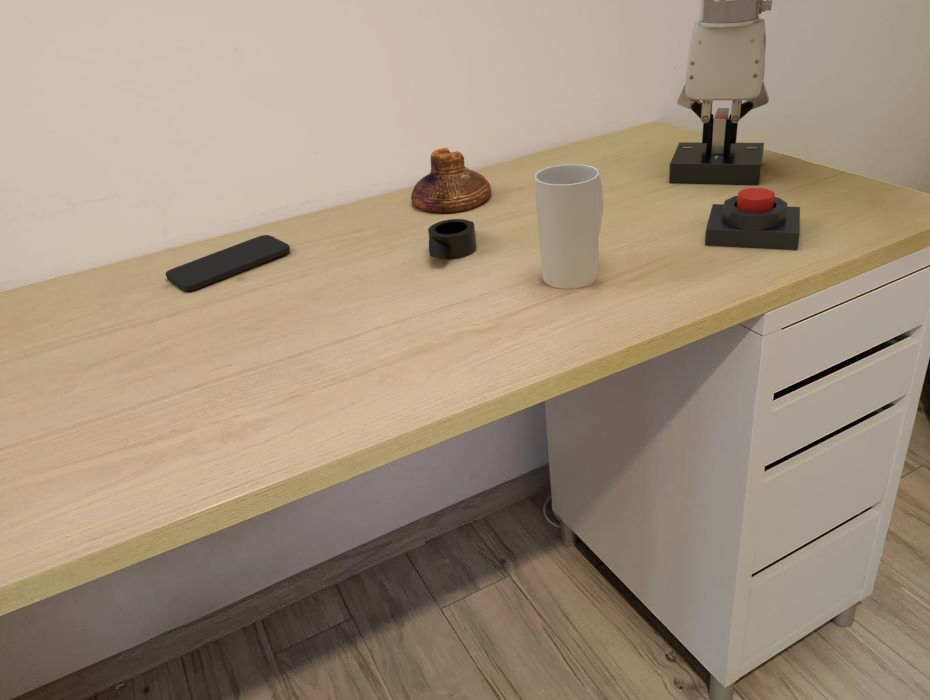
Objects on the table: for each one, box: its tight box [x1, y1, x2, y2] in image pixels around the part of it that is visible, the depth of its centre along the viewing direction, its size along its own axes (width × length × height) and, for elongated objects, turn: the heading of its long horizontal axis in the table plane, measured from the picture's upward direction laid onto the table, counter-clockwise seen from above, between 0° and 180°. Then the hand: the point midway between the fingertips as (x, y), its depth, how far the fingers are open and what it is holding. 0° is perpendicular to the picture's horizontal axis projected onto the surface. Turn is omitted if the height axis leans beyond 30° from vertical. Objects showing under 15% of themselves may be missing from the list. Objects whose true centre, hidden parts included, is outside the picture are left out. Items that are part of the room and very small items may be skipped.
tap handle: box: [711, 107, 730, 155], centre depth 107 cm, size 6×2×5 cm, turn 159°
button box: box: [704, 195, 801, 251], centre depth 88 cm, size 10×8×4 cm
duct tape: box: [427, 218, 477, 260], centre depth 94 cm, size 8×10×3 cm
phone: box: [165, 234, 291, 292], centre depth 97 cm, size 7×1×15 cm
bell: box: [410, 147, 492, 214], centre depth 108 cm, size 12×12×7 cm
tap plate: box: [668, 141, 765, 187], centre depth 108 cm, size 12×12×3 cm
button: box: [737, 187, 776, 212], centre depth 86 cm, size 4×4×2 cm
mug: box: [534, 163, 604, 290], centre depth 82 cm, size 10×7×12 cm, turn 138°
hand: (718, 147), depth 108 cm, fingers closed on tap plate, 2 cm apart
